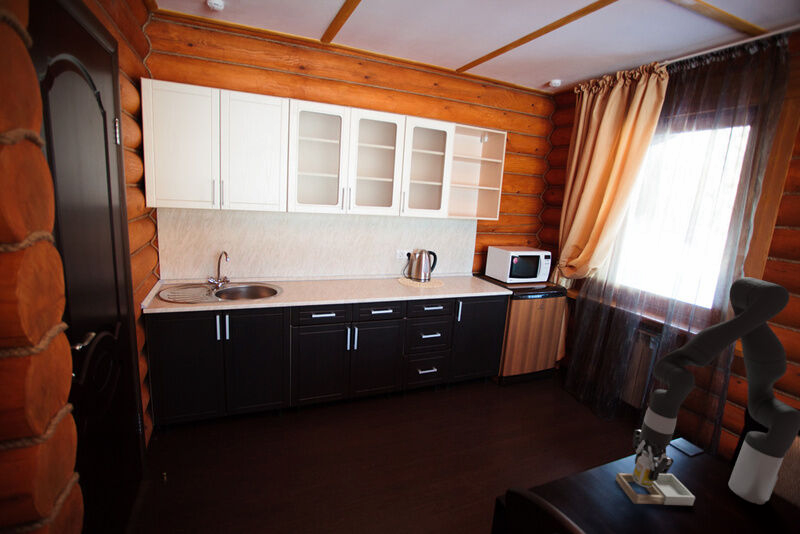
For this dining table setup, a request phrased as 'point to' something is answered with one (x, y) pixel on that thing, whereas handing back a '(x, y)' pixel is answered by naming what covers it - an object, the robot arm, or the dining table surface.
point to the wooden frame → (639, 498)
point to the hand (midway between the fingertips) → (644, 471)
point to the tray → (673, 490)
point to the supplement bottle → (643, 470)
